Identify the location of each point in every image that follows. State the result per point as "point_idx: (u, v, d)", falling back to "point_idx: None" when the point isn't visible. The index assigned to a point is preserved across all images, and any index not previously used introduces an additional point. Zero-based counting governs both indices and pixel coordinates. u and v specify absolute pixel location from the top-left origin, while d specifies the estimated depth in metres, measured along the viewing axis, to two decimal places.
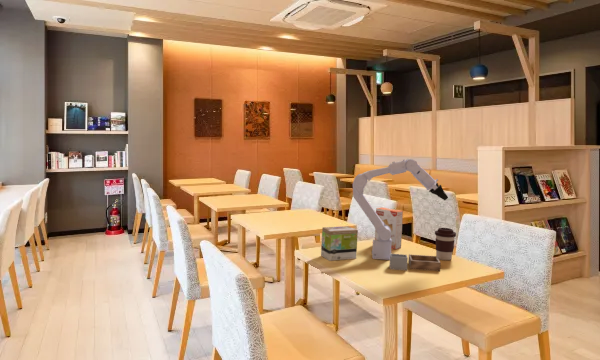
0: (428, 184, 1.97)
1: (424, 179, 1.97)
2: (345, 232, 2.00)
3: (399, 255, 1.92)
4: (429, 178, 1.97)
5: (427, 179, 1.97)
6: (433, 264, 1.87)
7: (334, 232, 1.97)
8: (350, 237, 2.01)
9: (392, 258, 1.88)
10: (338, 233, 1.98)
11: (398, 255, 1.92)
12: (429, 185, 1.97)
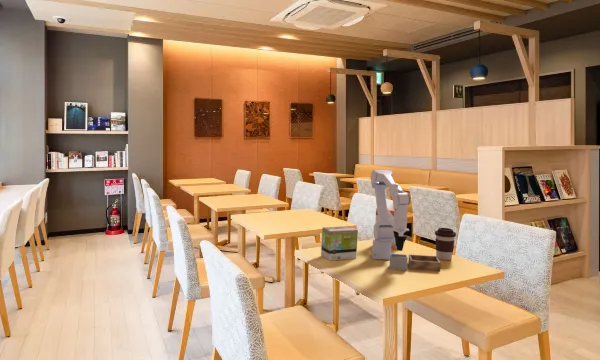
0: (398, 226, 1.86)
1: (399, 220, 1.85)
2: (345, 232, 2.00)
3: (399, 255, 1.92)
4: (404, 223, 1.85)
5: (401, 222, 1.85)
6: (433, 264, 1.87)
7: (334, 232, 1.97)
8: (350, 237, 2.01)
9: (392, 258, 1.88)
10: (338, 233, 1.98)
11: (398, 255, 1.92)
12: (398, 228, 1.86)
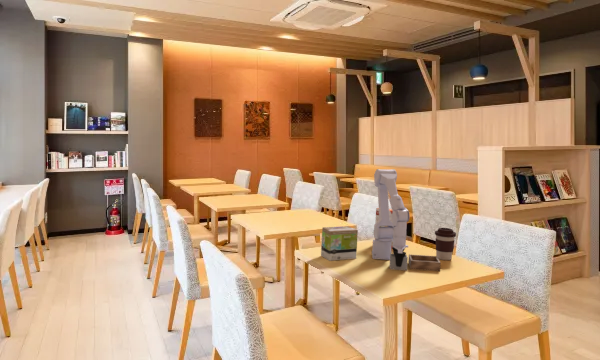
0: (397, 243, 1.86)
1: (398, 237, 1.86)
2: (345, 232, 2.00)
3: None
4: (403, 240, 1.86)
5: (401, 239, 1.86)
6: (433, 264, 1.87)
7: (334, 232, 1.97)
8: (350, 237, 2.01)
9: (392, 258, 1.88)
10: (338, 233, 1.98)
11: None
12: (397, 244, 1.87)
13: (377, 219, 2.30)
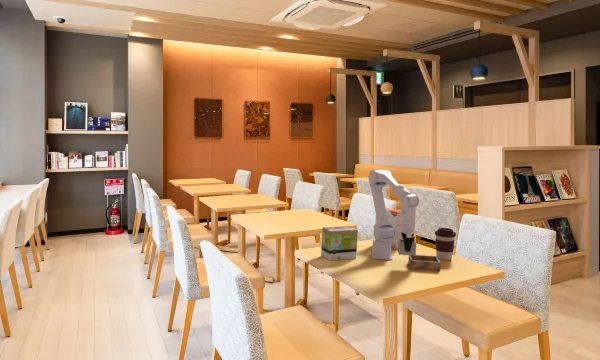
0: (406, 228, 1.87)
1: (407, 221, 1.86)
2: (345, 232, 2.00)
3: None
4: (412, 224, 1.86)
5: (409, 224, 1.86)
6: (433, 264, 1.87)
7: (334, 232, 1.97)
8: (350, 237, 2.01)
9: (401, 243, 1.88)
10: (338, 233, 1.98)
11: None
12: (406, 229, 1.87)
13: None
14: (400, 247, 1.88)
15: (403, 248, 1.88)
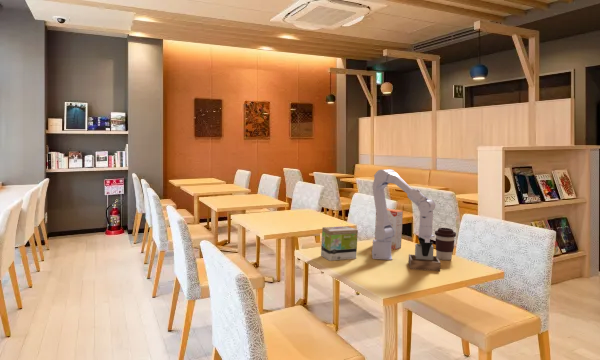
0: (424, 233, 1.89)
1: (425, 226, 1.89)
2: (345, 232, 2.00)
3: None
4: (429, 229, 1.89)
5: (427, 229, 1.89)
6: (433, 264, 1.87)
7: (334, 232, 1.97)
8: (350, 237, 2.01)
9: (418, 248, 1.90)
10: (338, 233, 1.98)
11: None
12: (424, 234, 1.89)
13: None
14: (417, 252, 1.90)
15: (420, 253, 1.90)
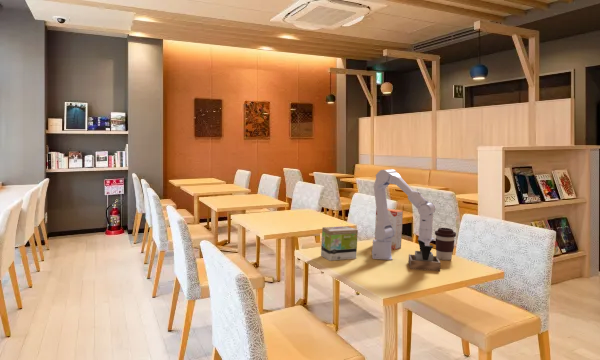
0: (424, 236, 1.89)
1: (425, 230, 1.89)
2: (345, 232, 2.00)
3: None
4: (429, 233, 1.89)
5: (427, 232, 1.89)
6: (433, 264, 1.87)
7: (334, 232, 1.97)
8: (350, 237, 2.01)
9: (418, 255, 1.91)
10: (338, 233, 1.98)
11: None
12: (424, 237, 1.89)
13: (377, 219, 2.30)
14: (417, 259, 1.91)
15: (420, 260, 1.91)
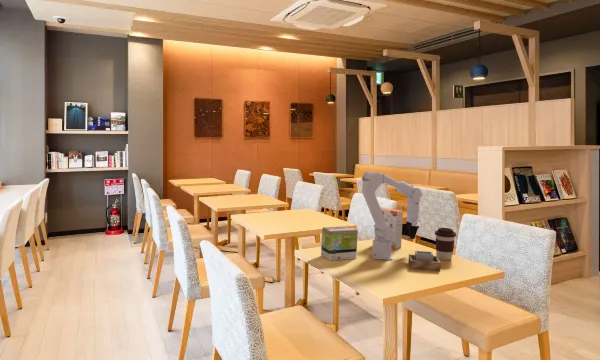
0: (411, 217, 2.08)
1: (412, 211, 2.07)
2: (345, 232, 2.00)
3: (424, 252, 1.94)
4: (416, 214, 2.08)
5: (414, 213, 2.07)
6: (433, 264, 1.87)
7: (334, 232, 1.97)
8: (350, 237, 2.01)
9: (418, 255, 1.91)
10: (338, 233, 1.98)
11: (423, 252, 1.95)
12: (411, 219, 2.08)
13: None
14: (417, 259, 1.91)
15: (420, 260, 1.91)
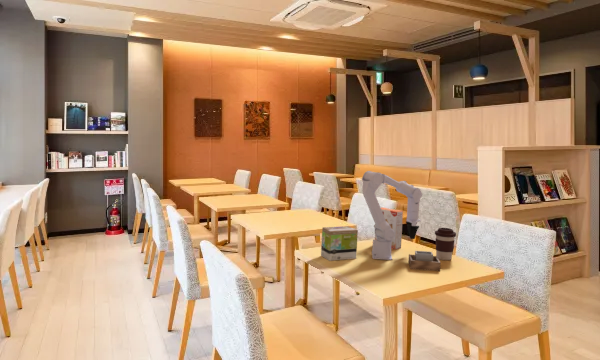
0: (411, 217, 2.08)
1: (412, 211, 2.08)
2: (345, 232, 2.00)
3: (424, 252, 1.94)
4: (416, 214, 2.08)
5: (414, 213, 2.08)
6: (433, 264, 1.87)
7: (334, 232, 1.97)
8: (350, 237, 2.01)
9: (418, 255, 1.91)
10: (338, 233, 1.98)
11: (423, 252, 1.95)
12: (411, 218, 2.08)
13: None
14: (417, 259, 1.91)
15: (420, 260, 1.91)
